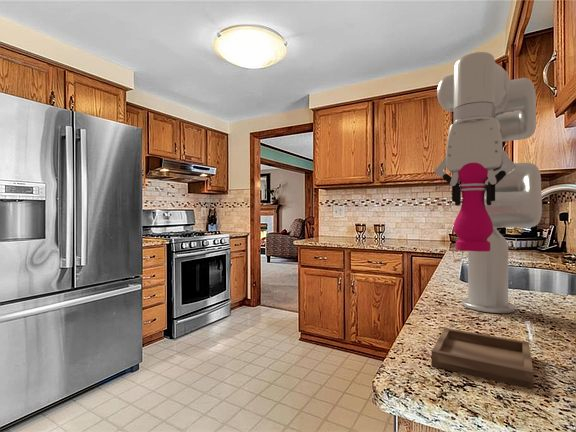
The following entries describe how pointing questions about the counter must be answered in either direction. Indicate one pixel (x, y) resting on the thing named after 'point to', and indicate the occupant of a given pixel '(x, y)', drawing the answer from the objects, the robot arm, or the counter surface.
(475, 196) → the pepper mill
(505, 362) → the tray
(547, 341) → the counter surface
